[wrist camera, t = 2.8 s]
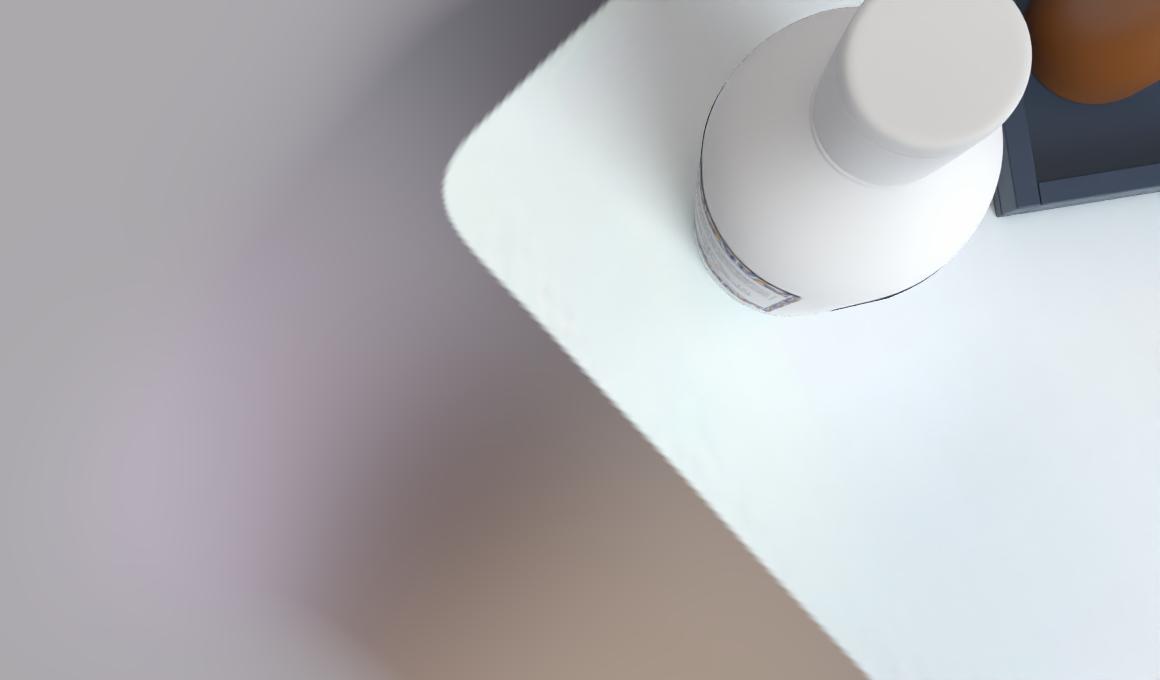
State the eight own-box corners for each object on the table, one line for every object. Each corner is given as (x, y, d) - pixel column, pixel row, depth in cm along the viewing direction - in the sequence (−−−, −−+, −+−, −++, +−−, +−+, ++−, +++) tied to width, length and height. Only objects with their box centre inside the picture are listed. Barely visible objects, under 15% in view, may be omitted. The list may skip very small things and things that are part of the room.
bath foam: (886, 126, 34) (1177, -179, 14) (885, 318, 34) (1175, 279, 14) (693, 129, 35) (715, -158, 15) (692, 316, 35) (711, 278, 15)
